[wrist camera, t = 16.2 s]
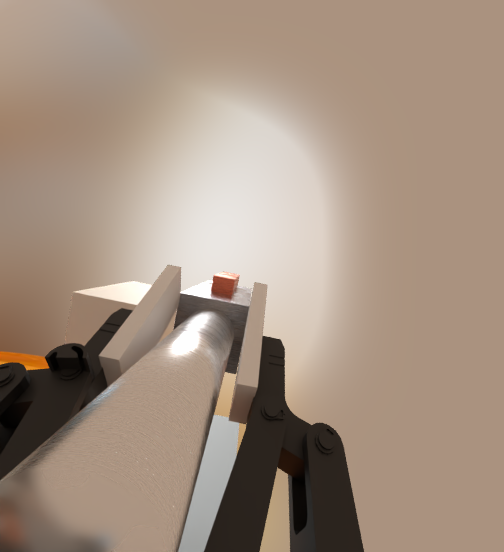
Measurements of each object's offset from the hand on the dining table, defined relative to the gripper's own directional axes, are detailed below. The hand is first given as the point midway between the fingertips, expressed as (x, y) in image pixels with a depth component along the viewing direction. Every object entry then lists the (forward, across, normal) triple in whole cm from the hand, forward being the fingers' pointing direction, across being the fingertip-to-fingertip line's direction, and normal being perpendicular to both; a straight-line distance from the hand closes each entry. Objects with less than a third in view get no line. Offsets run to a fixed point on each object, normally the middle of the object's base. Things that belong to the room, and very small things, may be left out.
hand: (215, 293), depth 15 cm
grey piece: (-2, 0, -4) cm, 5 cm away
